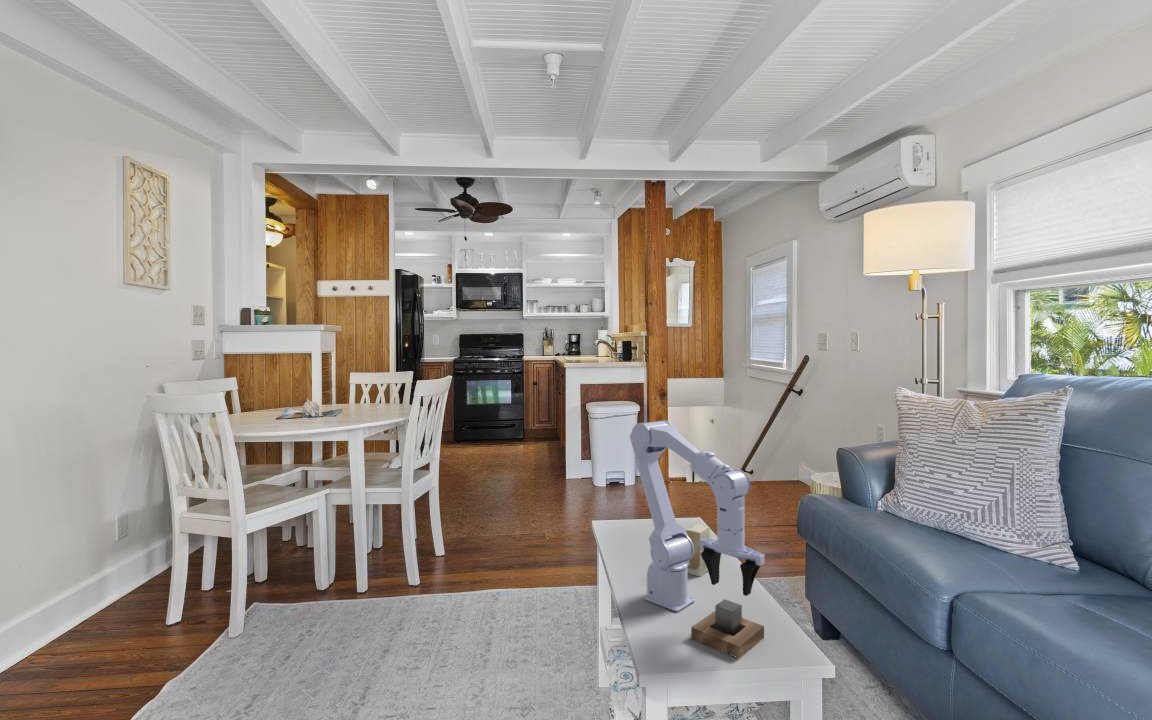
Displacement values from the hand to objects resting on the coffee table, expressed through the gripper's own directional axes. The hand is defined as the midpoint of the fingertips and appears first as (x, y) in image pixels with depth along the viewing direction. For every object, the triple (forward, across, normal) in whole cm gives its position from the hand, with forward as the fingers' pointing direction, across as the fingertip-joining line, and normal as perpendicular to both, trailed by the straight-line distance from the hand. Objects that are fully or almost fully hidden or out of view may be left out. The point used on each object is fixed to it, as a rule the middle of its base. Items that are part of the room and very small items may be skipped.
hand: (730, 588), depth 119 cm
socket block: (+9, -1, +3) cm, 10 cm away
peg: (+9, -1, +3) cm, 10 cm away
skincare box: (+10, +22, -23) cm, 33 cm away
